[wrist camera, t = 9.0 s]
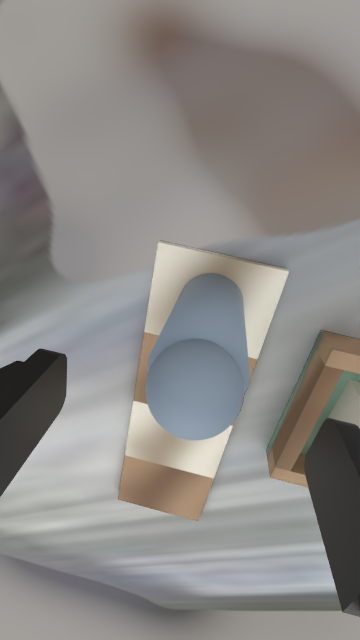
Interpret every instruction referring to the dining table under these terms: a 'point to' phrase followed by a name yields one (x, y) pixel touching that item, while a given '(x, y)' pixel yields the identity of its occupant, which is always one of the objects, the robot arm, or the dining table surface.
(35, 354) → the robot arm
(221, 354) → the pale blue capsule
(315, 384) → the tray
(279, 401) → the dining table surface
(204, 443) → the board
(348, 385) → the die
